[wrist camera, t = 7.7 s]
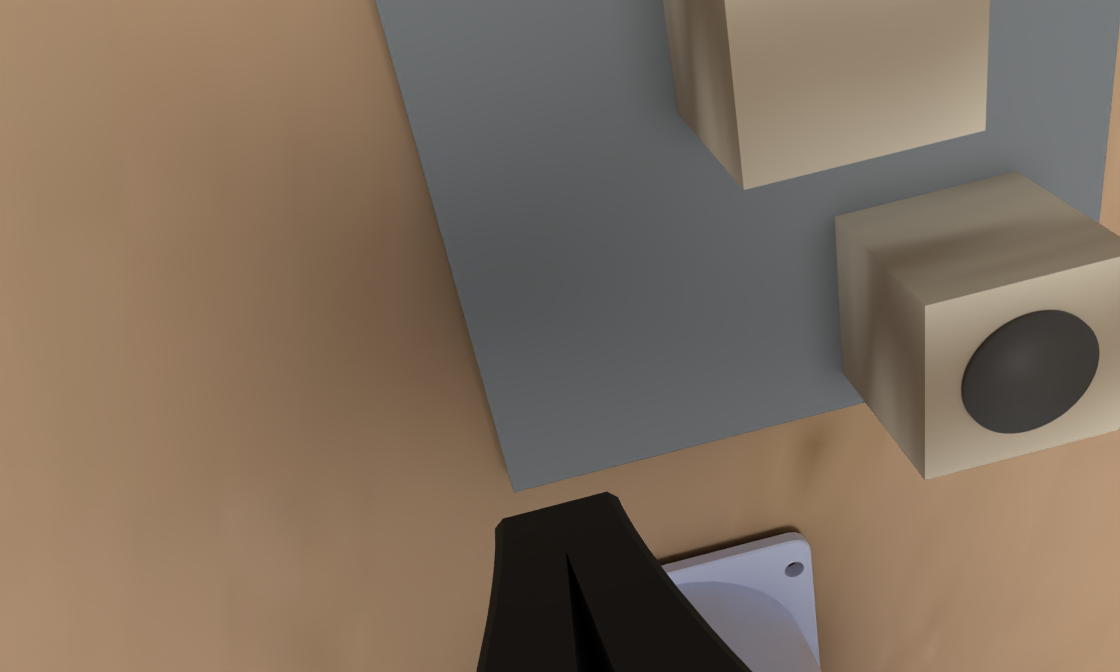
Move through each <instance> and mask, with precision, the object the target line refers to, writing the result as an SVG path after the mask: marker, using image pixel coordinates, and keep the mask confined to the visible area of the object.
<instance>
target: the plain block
mask: <svg viewBox="0 0 1120 672" xmlns="http://www.w3.org/2000/svg"><path fill="white" fill-rule="evenodd" d="M663 6H664V13H665V20H666V28H667V35H668V43H669V50H670V58H671V65H672V73H673V80H674V88H675V95H676V103H677V110H678V114H679V115H680V117H681V118H682V119H683V120H684V121H685V122H686V124H687V125H688V126H689V127H690V128H691V129H692V130H693V132H694V133H695V134H696V135H697V136H698V137H699V139H700V140H701V141H702V142H703V143H704V144H705V146H706V147H707V148H708V149H709V150H710V151H711V152H712V154H713V155H714V156H715V157H716V158H717V159H718V161H719V162H720V163H721V164H722V165H723V166H724V168H725V169H726V170H727V171H728V172H729V173H730V174H731V176H732V177H733V178H734V179H735V180H736V181H737V183H738V184H739V185H740V186H741V187H742V188H743V190H746V189H750V188H754V187H758V186H762V185H766V184H770V183H774V182H778V181H782V180H786V179H790V178H794V177H799V176H803V175H807V174H811V173H815V172H819V171H823V170H827V169H831V168H835V167H839V166H843V165H847V164H851V163H855V162H859V161H863V160H867V159H872V158H876V157H880V156H884V155H888V154H892V153H896V152H900V151H904V150H908V149H912V148H916V147H920V146H924V145H928V144H932V143H936V142H940V141H945V140H949V139H953V138H957V137H961V136H965V135H969V134H973V133H977V132H981V131H985V127H986V98H987V69H988V40H989V12H990V0H663Z"/></svg>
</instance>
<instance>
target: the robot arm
mask: <svg viewBox="0 0 1120 672" xmlns="http://www.w3.org/2000/svg"><path fill="white" fill-rule="evenodd" d="M793 562H796V563H795V564H794V565H792V566H790V567H787V566H788V565H789V564H791V563H793ZM477 672H822V671H821V669H820V659H819V646H818V634H817V621H816V609H815V596H814V584H813V572H812V559H811V549H810V546H809V544H808V542H807V540H806V539H805V537H804V536H803V535H801V534H800V533H796V532H790V533H784V534H781V535H777V536H773V537H769V538H765V539H761V540H758V541H754V542H750V543H746V544H742V545H738V546H735V547H731V548H727V549H723V550H719V551H715V552H712V553H708V554H704V555H700V556H696V557H693V558H689V559H685V560H681V561H677V562H673V563H670V564H666V565H662V566H661V565H660V564H659V562H658V561H657V560H656V558H655V557H654V555H653V554H652V553H651V551H650V550H649V549H648V547H647V546H646V544H645V543H644V541H643V540H642V538H641V537H640V535H639V534H638V532H637V531H636V529H635V528H634V526H633V524H632V523H631V521H630V519H629V518H628V516H627V514H626V512H625V511H624V509H623V507H622V505H621V503H620V501H619V498H618V497H616V496H615V495H613V494H611V493H609V492H604V493H600V494H596V495H592V496H589V497H585V498H581V499H577V500H573V501H569V502H566V503H562V504H558V505H554V506H550V507H546V508H542V509H539V510H535V511H531V512H527V513H523V514H519V515H516V516H512V517H508V518H504V519H502V520H501V522H500V523H499V524H498V526H497V527H496V528H495V561H494V573H493V582H492V590H491V596H490V603H489V610H488V616H487V622H486V627H485V632H484V637H483V642H482V647H481V652H480V657H479V662H478V667H477Z"/></svg>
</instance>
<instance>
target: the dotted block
mask: <svg viewBox="0 0 1120 672" xmlns="http://www.w3.org/2000/svg"><path fill="white" fill-rule="evenodd" d="M835 233H836V252H837V272H838V291H839V311H840V331H841V350H842V370H843V374H844V375H845V377H846V378H847V379H848V380H849V382H850V383H851V384H852V386H853V387H854V388H855V390H856V391H857V392H858V393H859V395H860V396H861V397H862V399H863V400H864V401H865V403H866V404H867V405H868V407H869V408H870V409H871V410H872V412H873V413H874V414H875V416H876V417H877V418H878V420H879V421H880V422H881V424H882V425H883V426H884V427H885V429H886V430H887V431H888V433H889V434H890V435H891V437H892V438H893V439H894V440H895V442H896V443H897V444H898V446H899V447H900V448H901V450H902V451H903V452H904V454H905V455H906V456H907V457H908V459H909V460H910V461H911V463H912V464H913V465H914V467H915V468H916V469H917V470H918V472H919V473H920V474H921V476H922V477H923V478H924V480H928V479H932V478H935V477H939V476H943V475H947V474H951V473H955V472H958V471H962V470H966V469H970V468H974V467H978V466H981V465H985V464H989V463H993V462H997V461H1001V460H1004V459H1008V458H1012V457H1016V456H1020V455H1024V454H1027V453H1031V452H1035V451H1039V450H1043V449H1047V448H1051V447H1054V446H1058V445H1062V444H1066V443H1070V442H1074V441H1077V440H1081V439H1085V438H1089V437H1093V436H1097V435H1100V434H1104V433H1108V432H1112V431H1116V430H1119V425H1120V237H1119V236H1118V235H1116V234H1115V233H1113V232H1111V231H1110V230H1108V229H1107V228H1105V227H1104V226H1102V225H1100V224H1099V223H1097V222H1096V221H1094V220H1093V219H1091V218H1089V217H1088V216H1086V215H1085V214H1083V213H1082V212H1080V211H1078V210H1077V209H1075V208H1074V207H1072V206H1071V205H1069V204H1067V203H1066V202H1064V201H1063V200H1061V199H1060V198H1058V197H1056V196H1055V195H1053V194H1052V193H1050V192H1049V191H1047V190H1045V189H1044V188H1042V187H1041V186H1039V185H1038V184H1036V183H1034V182H1033V181H1031V180H1030V179H1028V178H1027V177H1025V176H1023V175H1022V174H1020V173H1019V172H1017V171H1016V172H1012V173H1008V174H1004V175H1000V176H996V177H992V178H988V179H984V180H980V181H976V182H972V183H968V184H964V185H959V186H955V187H951V188H947V189H943V190H939V191H935V192H931V193H927V194H923V195H919V196H915V197H911V198H907V199H903V200H899V201H895V202H891V203H887V204H883V205H879V206H875V207H871V208H867V209H863V210H859V211H855V212H851V213H847V214H843V215H839V216H835Z"/></svg>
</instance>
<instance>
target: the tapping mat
mask: <svg viewBox="0 0 1120 672" xmlns="http://www.w3.org/2000/svg"><path fill="white" fill-rule="evenodd" d="M375 2H376V5H377V9H378V12H379V16H380V19H381V23H382V26H383V30H384V34H385V37H386V41H387V44H388V48H389V51H390V55H391V58H392V62H393V65H394V69H395V73H396V76H397V80H398V83H399V87H400V90H401V94H402V97H403V101H404V105H405V108H406V112H407V115H408V119H409V122H410V126H411V129H412V133H413V136H414V140H415V144H416V147H417V151H418V154H419V158H420V161H421V165H422V168H423V172H424V175H425V179H426V183H427V186H428V190H429V193H430V197H431V200H432V204H433V207H434V211H435V215H436V218H437V222H438V225H439V229H440V232H441V236H442V239H443V243H444V246H445V250H446V254H447V257H448V261H449V264H450V268H451V271H452V275H453V278H454V282H455V286H456V289H457V293H458V296H459V300H460V303H461V307H462V310H463V314H464V317H465V321H466V325H467V328H468V332H469V335H470V339H471V342H472V346H473V349H474V353H475V356H476V360H477V364H478V367H479V371H480V374H481V378H482V381H483V385H484V388H485V392H486V396H487V399H488V403H489V406H490V410H491V413H492V417H493V420H494V424H495V427H496V431H497V435H498V438H499V442H500V445H501V449H502V452H503V456H504V459H505V463H506V467H507V470H508V474H509V477H510V481H511V484H512V488H513V491H514V492H517V491H521V490H525V489H529V488H533V487H537V486H541V485H545V484H548V483H552V482H556V481H560V480H564V479H568V478H572V477H576V476H580V475H583V474H587V473H591V472H595V471H599V470H603V469H607V468H611V467H615V466H619V465H622V464H626V463H630V462H634V461H638V460H642V459H646V458H650V457H654V456H658V455H661V454H665V453H669V452H673V451H677V450H681V449H685V448H689V447H693V446H696V445H700V444H704V443H708V442H712V441H716V440H720V439H724V438H728V437H732V436H735V435H739V434H743V433H747V432H751V431H755V430H759V429H763V428H767V427H771V426H774V425H778V424H782V423H786V422H790V421H794V420H798V419H802V418H806V417H809V416H813V415H817V414H821V413H825V412H829V411H833V410H837V409H841V408H845V407H848V406H852V405H856V404H860V403H864V402H865V401H864V400H863V399H862V397H861V396H860V395H859V393H858V392H857V391H856V390H855V388H854V387H853V386H852V384H851V383H850V382H849V380H848V379H847V378H846V377H845V375H844V374H843V370H842V350H841V331H840V311H839V291H838V272H837V252H836V233H835V216H839V215H843V214H847V213H851V212H855V211H859V210H863V209H867V208H871V207H875V206H879V205H883V204H887V203H891V202H895V201H899V200H903V199H907V198H911V197H915V196H919V195H923V194H927V193H931V192H935V191H939V190H943V189H947V188H951V187H955V186H959V185H964V184H968V183H972V182H976V181H980V180H984V179H988V178H992V177H996V176H1000V175H1004V174H1008V173H1012V172H1016V171H1017V172H1019V173H1020V174H1022V175H1023V176H1025V177H1027V178H1028V179H1030V180H1031V181H1033V182H1034V183H1036V184H1038V185H1039V186H1041V187H1042V188H1044V189H1045V190H1047V191H1049V192H1050V193H1052V194H1053V195H1055V196H1056V197H1058V198H1060V199H1061V200H1063V201H1064V202H1066V203H1067V204H1069V205H1071V206H1072V207H1074V208H1075V209H1077V210H1078V211H1080V212H1082V213H1083V214H1085V215H1086V216H1088V217H1089V218H1091V219H1093V220H1094V221H1096V222H1097V223H1099V219H1100V210H1101V200H1102V190H1103V180H1104V171H1105V161H1106V151H1107V141H1108V132H1109V122H1110V112H1111V102H1112V93H1113V83H1114V73H1115V63H1116V54H1117V44H1118V34H1119V24H1120V0H990V12H989V40H988V69H987V98H986V127H985V131H981V132H977V133H973V134H969V135H965V136H961V137H957V138H953V139H949V140H945V141H940V142H936V143H932V144H928V145H924V146H920V147H916V148H912V149H908V150H904V151H900V152H896V153H892V154H888V155H884V156H880V157H876V158H872V159H867V160H863V161H859V162H855V163H851V164H847V165H843V166H839V167H835V168H831V169H827V170H823V171H819V172H815V173H811V174H807V175H803V176H799V177H794V178H790V179H786V180H782V181H778V182H774V183H770V184H766V185H762V186H758V187H754V188H750V189H746V190H743V188H742V187H741V186H740V185H739V184H738V183H737V181H736V180H735V179H734V178H733V177H732V176H731V174H730V173H729V172H728V171H727V170H726V169H725V168H724V166H723V165H722V164H721V163H720V162H719V161H718V159H717V158H716V157H715V156H714V155H713V154H712V152H711V151H710V150H709V149H708V148H707V147H706V146H705V144H704V143H703V142H702V141H701V140H700V139H699V137H698V136H697V135H696V134H695V133H694V132H693V130H692V129H691V128H690V127H689V126H688V125H687V124H686V122H685V121H684V120H683V119H682V118H681V117H680V115H679V114H678V110H677V103H676V95H675V88H674V80H673V73H672V65H671V58H670V50H669V43H668V35H667V28H666V20H665V13H664V6H663V0H375Z"/></svg>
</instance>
